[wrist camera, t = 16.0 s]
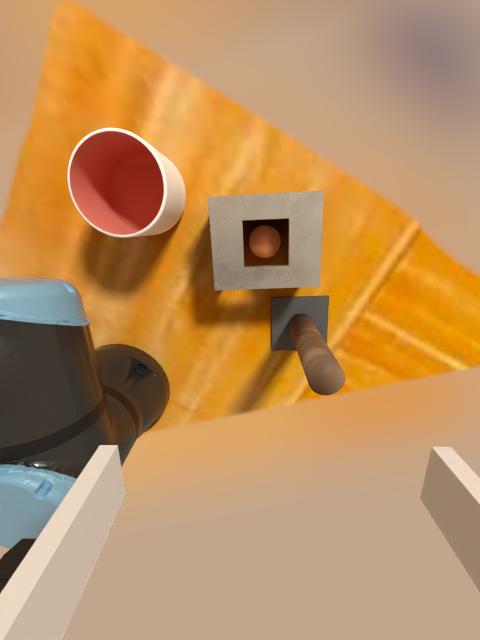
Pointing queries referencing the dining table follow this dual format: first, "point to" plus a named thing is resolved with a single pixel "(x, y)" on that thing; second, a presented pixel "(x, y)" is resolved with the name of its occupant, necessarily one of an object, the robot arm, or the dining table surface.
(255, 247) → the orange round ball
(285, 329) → the coaster
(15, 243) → the dining table surface
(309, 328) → the rod
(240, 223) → the grey box with hole
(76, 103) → the dining table surface
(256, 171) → the dining table surface
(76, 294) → the robot arm
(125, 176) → the cup
